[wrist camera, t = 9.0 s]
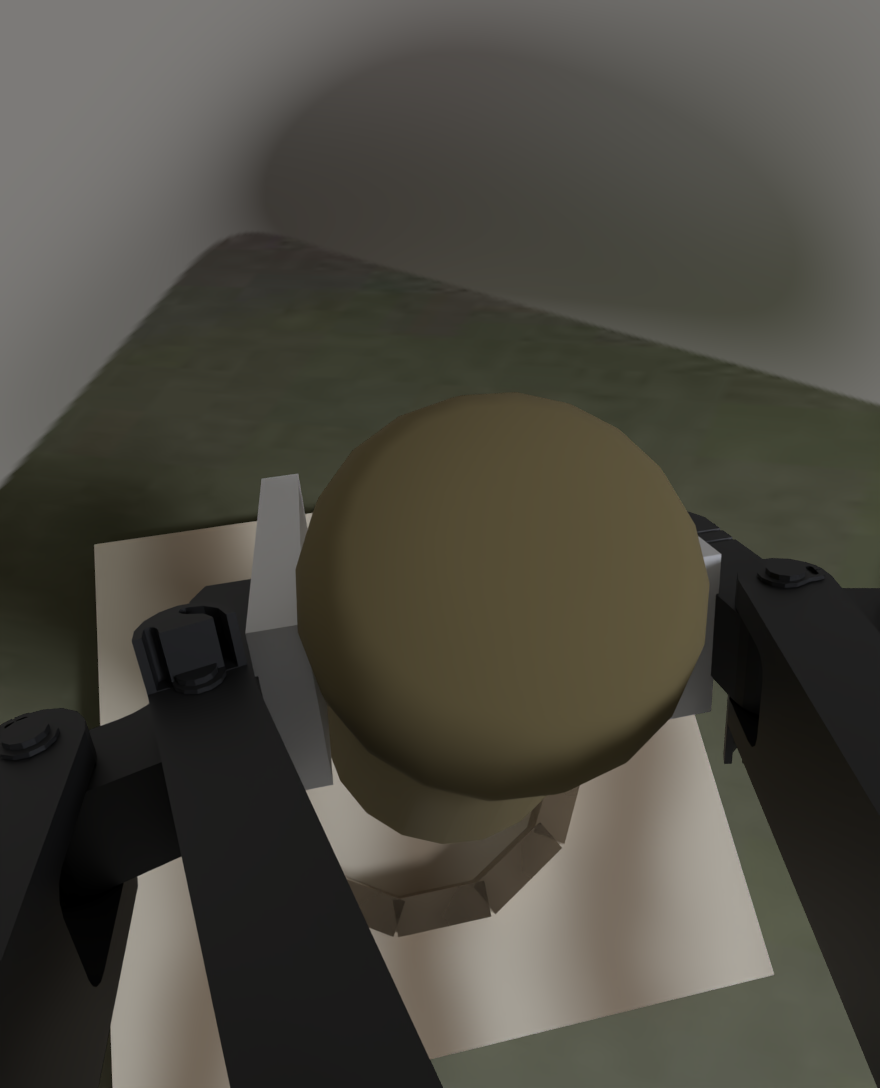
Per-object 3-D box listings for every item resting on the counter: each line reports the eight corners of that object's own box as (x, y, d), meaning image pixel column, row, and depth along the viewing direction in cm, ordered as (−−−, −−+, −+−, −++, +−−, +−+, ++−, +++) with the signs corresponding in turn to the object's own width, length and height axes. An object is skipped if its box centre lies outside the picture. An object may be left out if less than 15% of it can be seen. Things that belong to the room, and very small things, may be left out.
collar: (264, 961, 23) (256, 969, 22) (229, 616, 27) (221, 603, 26) (608, 885, 25) (622, 887, 23) (530, 568, 28) (537, 553, 27)
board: (127, 1122, 22) (114, 1136, 21) (105, 556, 29) (94, 544, 28) (756, 968, 25) (774, 974, 24) (610, 481, 31) (619, 468, 30)
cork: (269, 727, 18) (113, 570, 8) (431, 546, 20) (472, 234, 10) (469, 904, 17) (587, 986, 7) (620, 694, 19) (888, 511, 9)
